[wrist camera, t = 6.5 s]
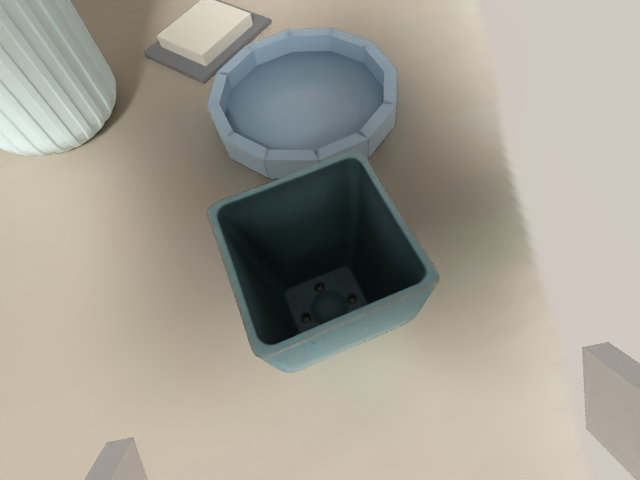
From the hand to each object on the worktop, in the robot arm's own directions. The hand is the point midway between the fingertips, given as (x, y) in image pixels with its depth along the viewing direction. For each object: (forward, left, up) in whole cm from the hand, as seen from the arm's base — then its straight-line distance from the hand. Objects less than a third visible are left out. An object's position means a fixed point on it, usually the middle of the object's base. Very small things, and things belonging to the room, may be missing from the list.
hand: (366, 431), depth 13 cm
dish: (+20, +19, -13) cm, 31 cm away
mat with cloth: (+23, +33, -13) cm, 42 cm away
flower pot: (+6, +7, -13) cm, 16 cm away
